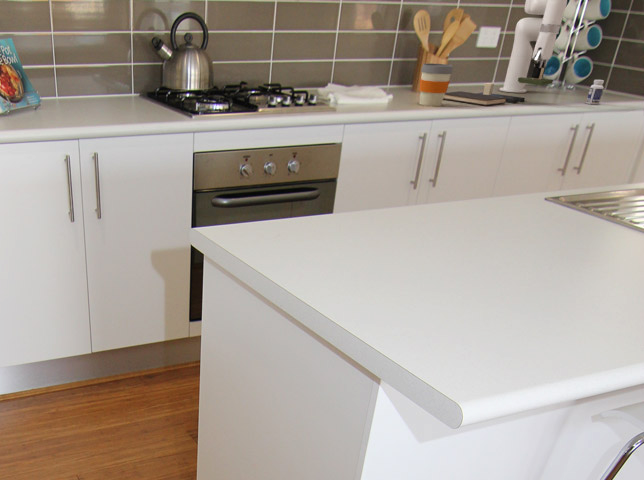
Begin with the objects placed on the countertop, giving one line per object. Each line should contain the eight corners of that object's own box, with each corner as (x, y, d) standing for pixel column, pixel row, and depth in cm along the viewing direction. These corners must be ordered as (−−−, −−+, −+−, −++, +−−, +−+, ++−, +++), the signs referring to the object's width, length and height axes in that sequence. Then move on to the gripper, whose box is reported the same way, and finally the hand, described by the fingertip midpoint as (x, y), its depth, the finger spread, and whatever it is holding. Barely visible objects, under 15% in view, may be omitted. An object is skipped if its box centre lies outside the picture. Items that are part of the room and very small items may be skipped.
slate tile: (482, 95, 340) (485, 81, 337) (507, 99, 333) (511, 84, 330) (470, 97, 333) (473, 83, 330) (496, 101, 326) (499, 86, 323)
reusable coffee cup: (451, 106, 305) (459, 66, 297) (425, 106, 302) (433, 66, 294) (434, 102, 315) (442, 63, 307) (409, 102, 312) (416, 63, 304)
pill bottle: (600, 104, 330) (607, 80, 324) (596, 105, 326) (603, 81, 321) (587, 102, 333) (595, 79, 327) (583, 103, 329) (591, 79, 324)
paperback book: (485, 105, 310) (487, 99, 309) (440, 98, 324) (441, 93, 323) (505, 103, 319) (506, 97, 317) (460, 96, 333) (461, 91, 332)
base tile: (503, 98, 335) (503, 95, 334) (524, 101, 329) (525, 97, 328) (491, 100, 327) (492, 96, 326) (512, 103, 321) (513, 99, 321)
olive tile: (524, 80, 326) (528, 65, 322) (552, 83, 318) (556, 68, 315) (513, 81, 318) (517, 66, 315) (541, 85, 311) (545, 69, 308)
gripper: (548, 28, 314) (536, 76, 324) (533, 29, 304) (520, 77, 314) (565, 30, 309) (552, 77, 319) (551, 30, 299) (537, 79, 309)
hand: (537, 77), depth 316 cm, fingers closed on olive tile, 3 cm apart
